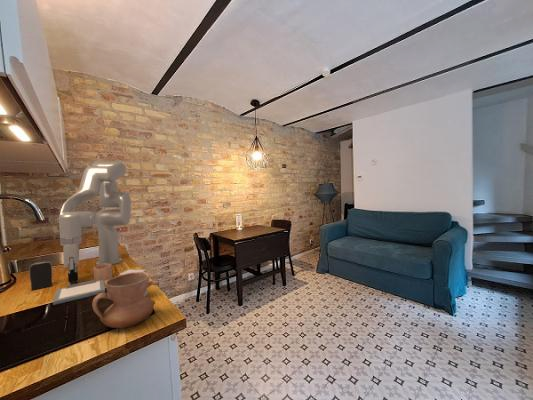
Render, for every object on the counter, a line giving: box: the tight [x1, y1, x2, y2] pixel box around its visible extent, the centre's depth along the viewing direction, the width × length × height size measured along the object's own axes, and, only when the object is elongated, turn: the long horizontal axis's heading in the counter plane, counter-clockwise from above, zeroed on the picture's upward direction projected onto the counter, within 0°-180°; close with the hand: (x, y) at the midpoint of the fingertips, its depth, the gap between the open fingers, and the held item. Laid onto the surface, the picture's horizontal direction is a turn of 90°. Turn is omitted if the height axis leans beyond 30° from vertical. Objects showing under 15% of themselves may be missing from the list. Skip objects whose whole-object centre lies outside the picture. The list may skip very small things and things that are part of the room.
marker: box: [69, 264, 79, 285], centre depth 103 cm, size 4×4×10 cm
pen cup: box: [93, 264, 113, 282], centre depth 109 cm, size 7×7×6 cm
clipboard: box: [52, 279, 106, 306], centre depth 95 cm, size 14×16×2 cm
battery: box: [28, 260, 53, 291], centre depth 100 cm, size 7×4×11 cm, turn 132°
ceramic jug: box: [91, 272, 158, 329], centre depth 74 cm, size 18×14×14 cm
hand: (73, 279), depth 103 cm, fingers closed on marker, 3 cm apart
